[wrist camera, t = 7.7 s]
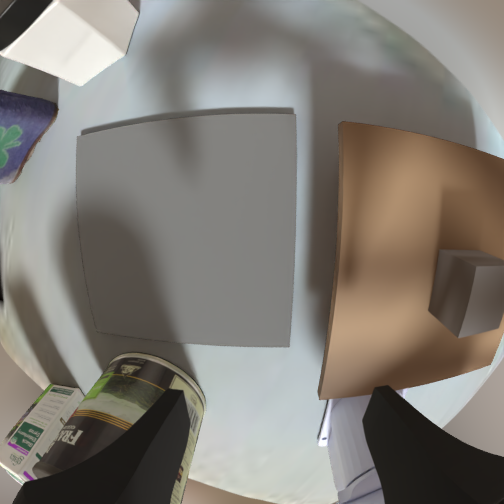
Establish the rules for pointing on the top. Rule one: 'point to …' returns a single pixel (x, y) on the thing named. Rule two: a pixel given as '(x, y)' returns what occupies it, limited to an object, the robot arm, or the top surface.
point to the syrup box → (37, 431)
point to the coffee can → (123, 413)
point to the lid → (413, 262)
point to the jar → (66, 35)
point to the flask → (21, 130)
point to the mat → (191, 228)
